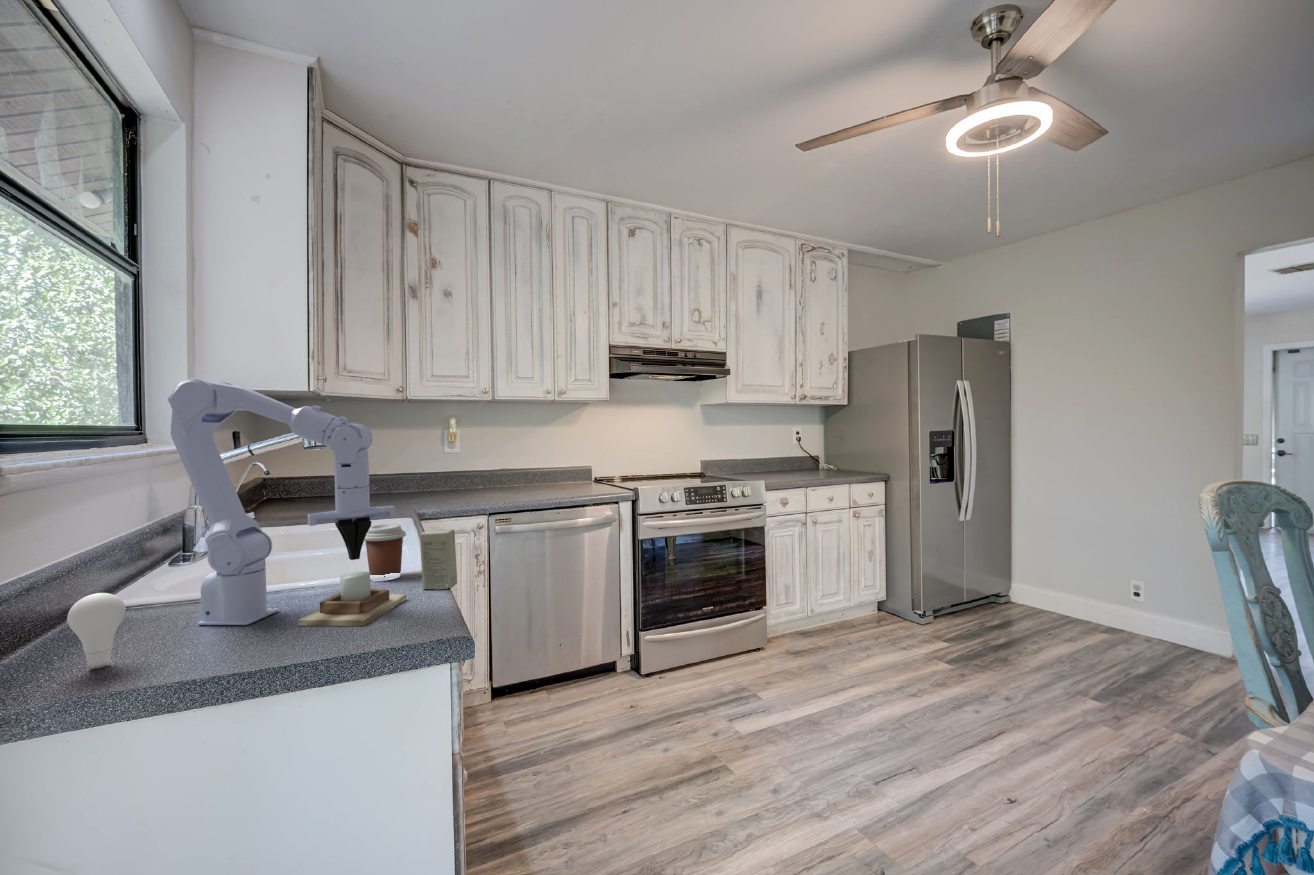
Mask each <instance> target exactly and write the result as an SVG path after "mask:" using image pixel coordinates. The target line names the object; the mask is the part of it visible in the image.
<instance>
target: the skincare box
mask: <svg viewBox="0 0 1314 875" xmlns="http://www.w3.org/2000/svg"><path fill="white" fill-rule="evenodd" d="M419 545H420V546H419V547H420V560H421V562H420V564H421V580H422V590H423V589H435V590H450V589H453V588H454V587H455V586H456V585H457V584H458V573H457V571H458V570H457V556H456V554H457V552H456V534H455V529H454V528H453V529H438V530H437V529H435V530H432V529H431V530H426V531H424V532H422V533H419ZM446 584H447V585H448V587H447V586H446ZM448 588H450V589H448Z"/></svg>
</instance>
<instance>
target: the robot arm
mask: <svg viewBox="0 0 1314 875" xmlns="http://www.w3.org/2000/svg"><path fill="white" fill-rule="evenodd" d="M167 401H168V402H169V405H170V408H171V420H170V421H171V422H170V435H171V439H172V441H173V443H174V446H175V448H176V451H177V453H178V455H179V458H180V460H181V462H182V464H183V466H184V468H185V471H186V473H187V477H188V478H189V480H190V482H191V485H192V488H193V489H194V491H195V494H196V496H197V498H198V500H199V502H200V505H201V507H202V508H203V511H204V514H205V517H206V518H207V520H208V523H209V525H210V526H209V529H208V531H207V534H206V536H205V539H204V540H205V542H206V545H207V561H208V564H209V566H210V567H211V569H212V570H213V571H211V572H210V573H208V574H207V575H206V576H205V577H204V579H203V580H202V584H201V585H200V607H201V608H200V610H201V620H200V621H197V625H199V626H247V625H251V624H254V623H256V622H257V621H260V620H261V619H263V618H267V617H268V616H270V615H273V614H274V613H275V614H276V613H277V612H279V611H280V608H279V607H273V608H271V607H268V597H267V594H268V592H267V571H266V570H267V566H266V565H267V563H266V559H267V558H268V557H269V556H270V554H271V552H272V551H273V550H272V549H273V542H272V539H271V537H270V536H269V535H268V534H267V533H266V532H265V531H264V530H262V528H261V527H260V525H259V522H258V521H257V520H256V519H254V518H253V517H250V516H249V515H248V514H246V511H245V509H244V506H243V505H242V502H241V500H240V497H239V495H238V493H237V491H236V489H235V486H234V484H233V482H232V479H231V476H230V475H229V473H228V470H227V468H226V466H225V463H224V461H223V459H222V456H221V454H220V452H219V449H218V446H217V445H216V442H215V441H214V438H213V435H214V434H215V433H216V431H217V429H219V426H220V425H221V424H223V423H224V422H225V421H227V419H229V418H230V417H231V416H232V415H234V414H235V413H236V412H237V411H239V412H245V411H246V412H247V411H248V412H251V413H254V414H256V415H259V416H262V417H265V418H269V419H271V420H274V421H277V422H281V423H284V424H285V425H286V424H287V425H288V426H289V428H290V431H291V432H292V434H293V435H296V436H298V437H302V438H304V439H306V440H309V441H311V442H314V443H318V444H320V445H322V446H324V447H325V446H326V447H329V448H330V449H331V451H332V452H333V454H334V459H333V460H334V463H333V464H334V465H333V466H334V497H335V498H334V502H335V503H334V505H335V506H334V508H335V510H330V511H321V512H315V513H308V514H307V525H308V526H310V527H313V526H317V525H324V524H325V525H326V524H332V523H333V524H335V528H337V530H338V532H339V533H340V535H341V537H342V539H343V542H344V545H345V547H346V550H347V554H348V559H349V560H351V561H355V560H360V559H361V553H362V549H363V544H364V539H365V536H366V534H367V532H368V530H369V528H370V527H371V526H372V520H371V519H378V518H387V517H389V518H391V517H392V518H394V517H396V506H395V505H384V506H383V505H382V506H371V505H370V504H371V502H370V501H371V500H370V495H371V494H370V463H369V448H370V447H371V445H372V442H373V434H372V432H371V430H370V429H369V428H368V427H367V426H366V425H364V424H362V423H361V422H350V423H348V417H345V416H342V415H341V416H339V417H338V416H335V415H333V414H330V413H328V412H325V411H323V410H324V408H323V407H322V406H319V405H315V404H314V405H312V406H310V405H305V406H302V407H299V408H296V407H294V406H292V405H288V404H286V403H284V402H281V401H278V400H277V399H275V398H272V397H269V396H267V395H265V394H263V393H260V392H257V391H256V390H253V389H250V388H247V387H243V386H239V385H234V384H232V383H231V382H225V381H219V382H217V381H209V380H202V379H198V378H188V379H185V380H182V381H180V382H179V383H177V385H176V386H175V388H174V390H173V391H172V392H171V394H169V396H168V398H167Z"/></svg>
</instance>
